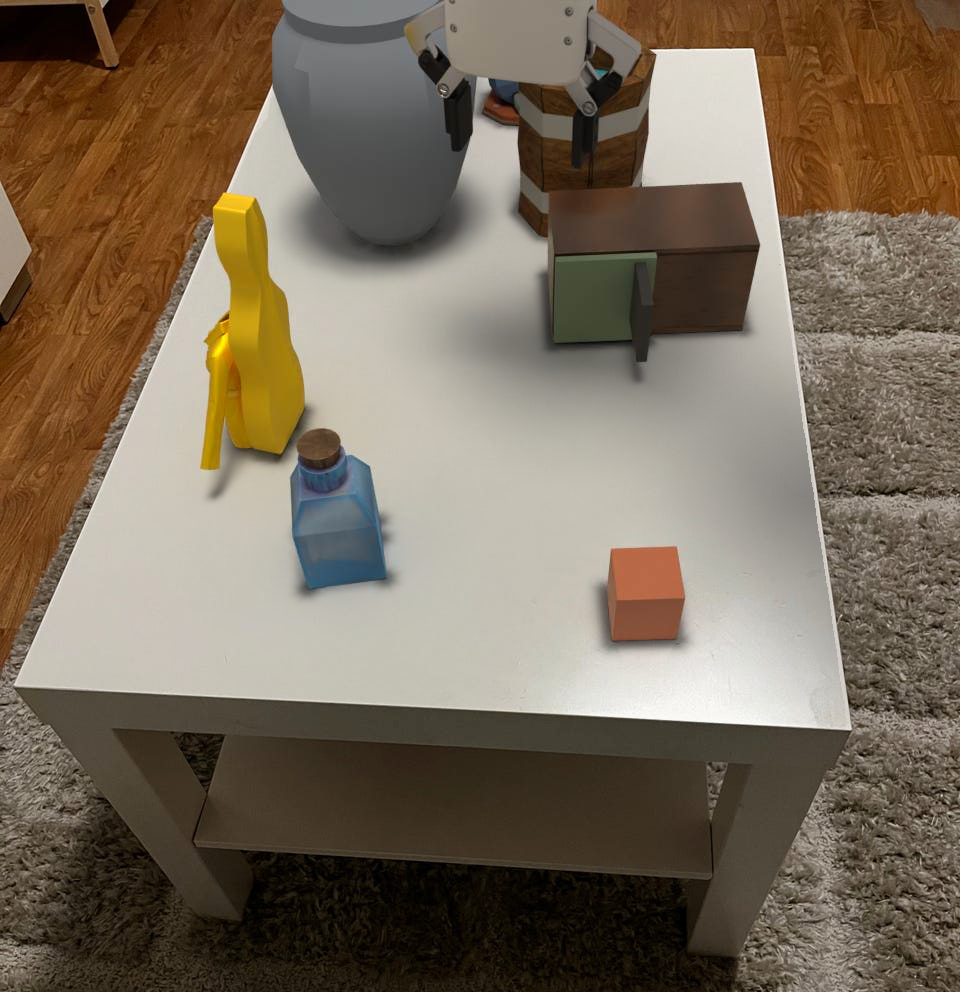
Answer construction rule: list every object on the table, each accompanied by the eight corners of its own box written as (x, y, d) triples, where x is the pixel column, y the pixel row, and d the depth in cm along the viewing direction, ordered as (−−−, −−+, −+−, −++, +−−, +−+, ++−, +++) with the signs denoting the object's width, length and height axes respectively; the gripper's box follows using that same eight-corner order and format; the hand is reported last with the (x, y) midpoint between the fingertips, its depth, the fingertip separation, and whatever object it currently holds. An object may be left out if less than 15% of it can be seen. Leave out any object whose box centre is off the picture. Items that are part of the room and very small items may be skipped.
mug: (652, 238, 101) (668, 89, 89) (522, 248, 101) (521, 99, 89) (625, 141, 112) (636, -4, 100) (509, 149, 112) (506, 6, 100)
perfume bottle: (380, 520, 80) (359, 408, 70) (386, 578, 76) (365, 468, 67) (305, 530, 80) (273, 419, 70) (308, 589, 76) (275, 480, 66)
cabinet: (726, 267, 98) (741, 181, 90) (742, 330, 92) (760, 244, 85) (547, 275, 98) (548, 190, 91) (552, 338, 92) (554, 253, 85)
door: (646, 333, 92) (656, 252, 85) (654, 381, 88) (665, 299, 81) (553, 337, 92) (555, 256, 85) (557, 385, 88) (559, 304, 81)
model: (476, 122, 116) (472, 39, 109) (493, 85, 121) (491, 3, 114) (575, 130, 114) (578, 45, 107) (588, 91, 119) (592, 8, 112)
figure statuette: (266, 362, 92) (202, 129, 74) (344, 372, 91) (298, 138, 73) (192, 496, 83) (97, 265, 65) (278, 509, 81) (206, 278, 63)
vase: (295, 285, 99) (236, 24, 79) (311, 181, 110) (263, -70, 90) (486, 276, 99) (475, 11, 79) (482, 172, 110) (472, -82, 90)
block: (669, 588, 75) (676, 545, 71) (676, 639, 72) (685, 597, 68) (606, 590, 75) (610, 548, 71) (612, 641, 72) (616, 600, 68)
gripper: (667, -129, 61) (642, 141, 75) (412, -146, 65) (434, 113, 79) (638, -83, 57) (617, 193, 71) (369, -105, 61) (399, 161, 75)
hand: (521, 151), depth 75 cm, fingers open, 9 cm apart
